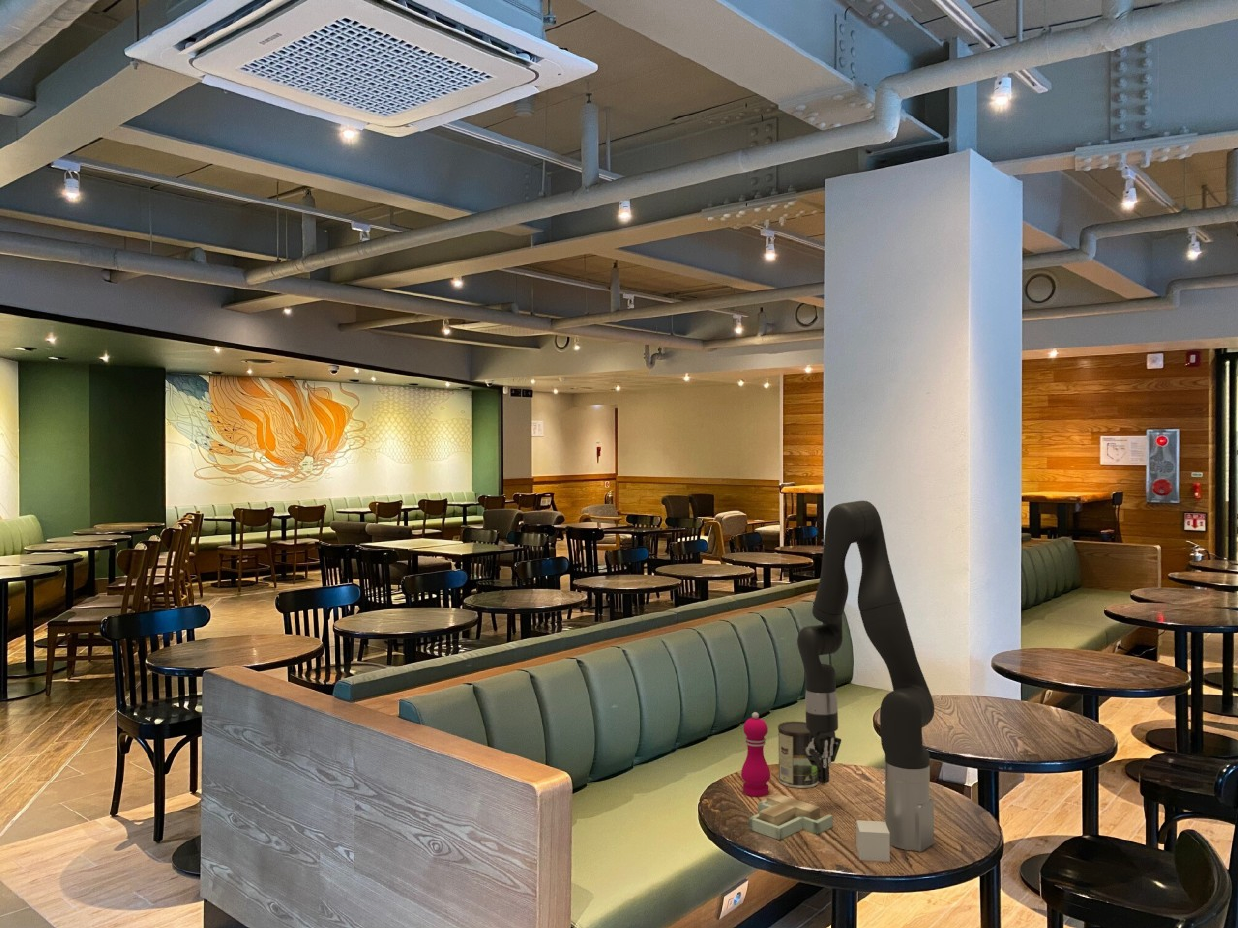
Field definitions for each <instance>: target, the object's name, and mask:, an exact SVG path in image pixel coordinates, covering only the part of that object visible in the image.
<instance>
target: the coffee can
mask: <svg viewBox="0 0 1238 928" xmlns="http://www.w3.org/2000/svg"><path fill="white" fill-rule="evenodd" d="M777 730H778V782H779V783H780V784H782V785H783V786H785V787H790V788H795V789H809V788H813V787H816V786H818V785H819V783H820V782H818V778H817V766H814V765H811V763H810V762H809V760H808V758H807V757H806V755H805V753H804V751H803V748H804V747H808V745H809V743H810V742H809V737H810V731H809V730H808V729H807V728H806V721H786V722H782V723H779V724H778V726H777Z"/></svg>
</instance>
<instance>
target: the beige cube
mask: <svg viewBox="0 0 1238 928" xmlns="http://www.w3.org/2000/svg"><path fill="white" fill-rule="evenodd" d="M855 833H856V834H855V839H856V841H855V844H856V845H855V848H856V852H857V855H858V858H859V861H865V862H869V861H870V862H883V863H885V862H888V863H890V861H891V859H890V857H891V856H890V855H891V854H890V852H891V851H890V848H891V847H890V846H891V845H890V833H889V831H888V828H887V826H886V823H885V821H878V820H877V821H875V820H874V821H873V820H860V819H858V820H856V821H855Z"/></svg>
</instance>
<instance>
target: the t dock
mask: <svg viewBox="0 0 1238 928" xmlns="http://www.w3.org/2000/svg"><path fill="white" fill-rule="evenodd" d="M769 807H771V805H768V804H767V798H766V799H763V800H761V801H759V802H758V803H757V814H754V815H752V816H750V817H748V830H750V831H753V832H756V833H758V834H761V835H764V836H766V837H769V838H772V839H774V840H778V841H782V840H783V839H785V838H787V837H790V836H791V835H794V834H796V833H797V832H800V831H802V830H804V831H807V832H809V833H812V834H815V835H820V834H821V833H823V832H826V831H827V830H829V829H831V828H833V827H834V815H832V814H830V813H829V814H826V815H825V816H823V817H820V819H818V820H813V819H810V818H807V817H804V816H799V817H797V818H795V819H793V820H791V821H789V822H787V823H784V824H782V825H780V826H776V825H773V824H771V823H768V822H765V821H762V820H759V812H760V811H762V810H764V809H767V808H769Z"/></svg>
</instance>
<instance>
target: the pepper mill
mask: <svg viewBox="0 0 1238 928" xmlns="http://www.w3.org/2000/svg"><path fill="white" fill-rule="evenodd" d="M759 717H760V713H758V712H756V711H754V712H753V713H751V717H750V718H748V719H747V720H746V721H744V723H743V733H744V735H745V742H744V743H745V745H746V746H747V754H746V758H745V760H744V762H743V764H742V766H741V767H742V768H741V773H740V776H741V779H742V780H743V782H744V783H743V784H742V792H743V794H745V795H747V796H750V797H765V796H767V795H768V794H769V785H768V782H769V781H770V779H771V770H770V768H769V764H768V763H767V761H766V758H765V753H764V747H765V745H766V738H765V736H767V734H768V731H769V730H768V724H767V722H766V721H765V720H764V719H762V718H759Z"/></svg>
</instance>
